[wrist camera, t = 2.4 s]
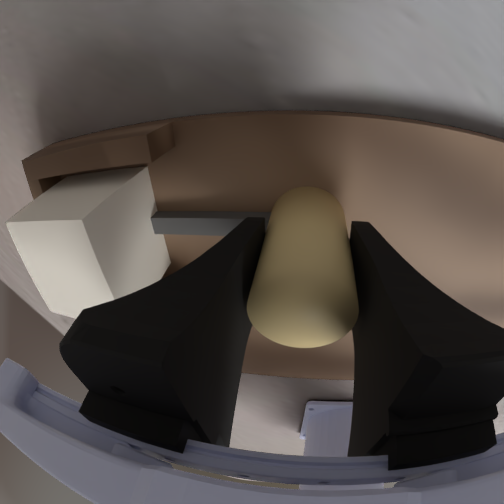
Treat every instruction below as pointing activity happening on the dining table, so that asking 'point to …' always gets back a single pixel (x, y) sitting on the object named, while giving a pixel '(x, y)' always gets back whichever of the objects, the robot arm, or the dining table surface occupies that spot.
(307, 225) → the tethered block
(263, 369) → the shelf
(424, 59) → the dining table surface
